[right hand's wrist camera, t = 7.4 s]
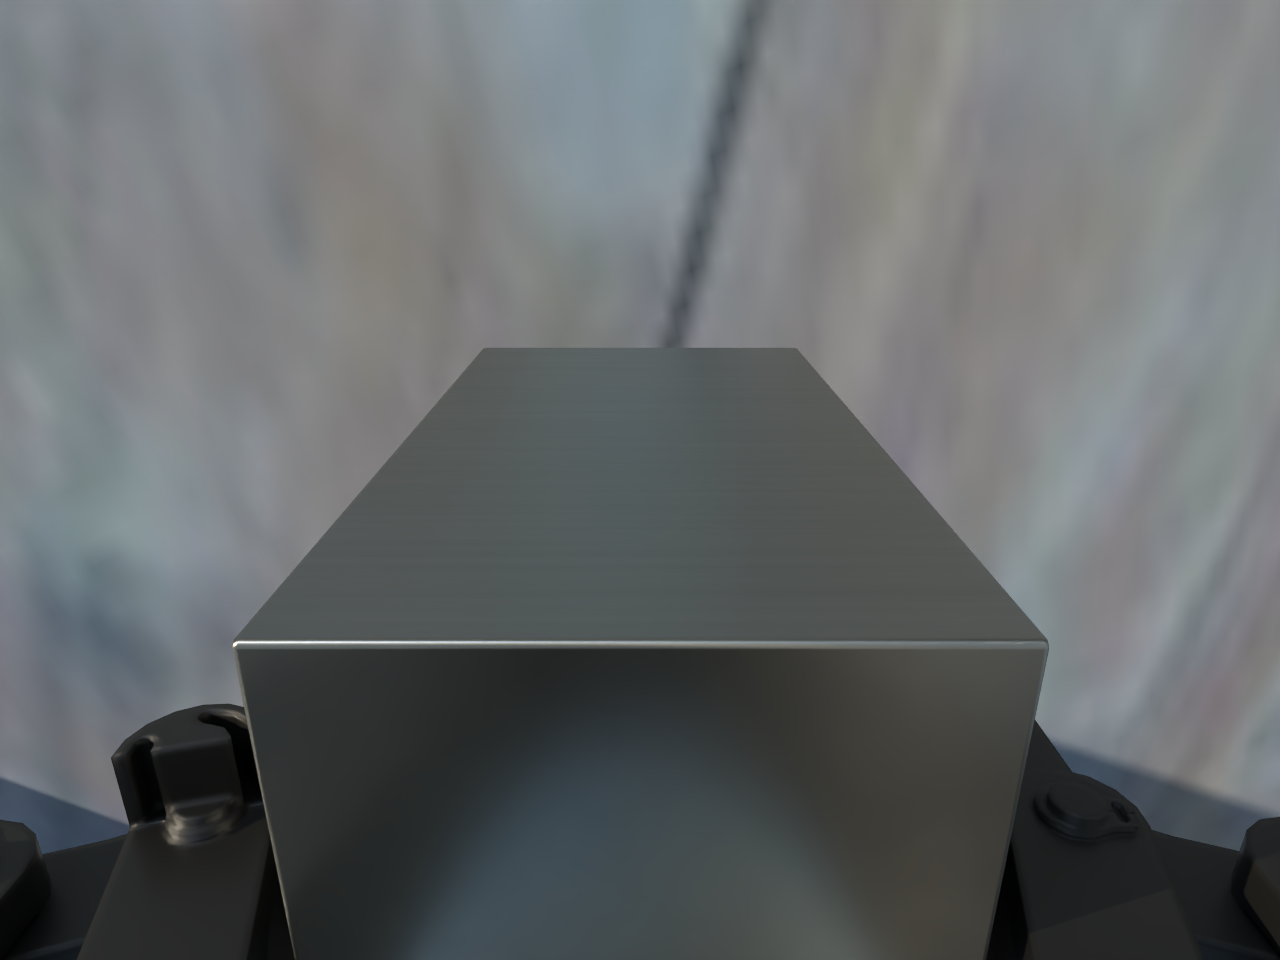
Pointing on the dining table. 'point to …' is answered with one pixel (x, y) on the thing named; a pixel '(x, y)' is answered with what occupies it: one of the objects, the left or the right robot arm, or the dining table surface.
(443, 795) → the bar
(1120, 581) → the dining table surface
